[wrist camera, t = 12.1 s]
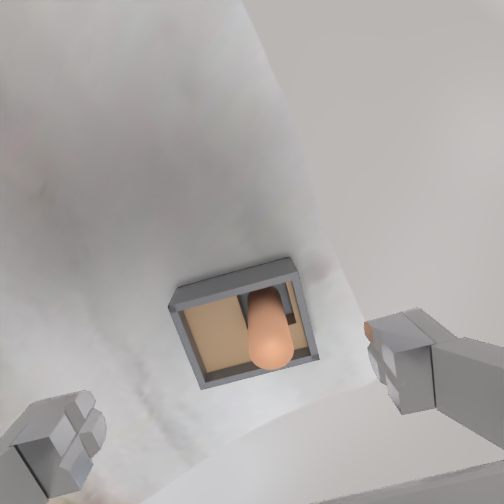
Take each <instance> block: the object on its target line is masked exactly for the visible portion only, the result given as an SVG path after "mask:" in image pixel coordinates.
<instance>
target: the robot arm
mask: <svg viewBox="0 0 504 504" xmlns="http://www.w3.org/2000/svg"><path fill="white" fill-rule="evenodd" d="M364 330H365V335H366V337H367V338H368V340H369V341H370V344H369V346H368V348H367V349H368V354H369V359H370V362H371V365H372V368H373V370H374V372H375V374H376V376H377V378H378V379H379V381H380V382H381V383H383V384H385V385H387V388H388V395H389V396H390V398H391V399H392V401H393V402H394V404H395V405H396V407H397V408H398V410H399V411H400V413H401V415H405V414H410V413H414V412H419V411H424V410H429V409H434V408H437V410H438V411H440V412H441V413H443V414H445V415H446V416H448V417H450V418H451V419H453V420H455V421H456V422H458V423H460V424H462V425H463V426H465V427H467V428H468V429H470V430H472V431H473V432H475V433H477V434H479V435H480V436H482V437H484V438H485V439H487V440H488V441H490V442H492V443H493V444H495V445H497V446H498V447H500V448H502V449H504V347H500V346H496V345H493V344H489V343H485V342H481V341H478V340H474V339H470V338H466V337H464V338H458V337H456V336H455V335H454V334H453V333H451V332H450V331H449V330H447V329H446V328H445V327H444V326H442V325H441V324H440V323H439V322H437V321H436V320H435V319H433V318H432V317H431V316H430V315H428V314H427V313H426V312H424V311H423V310H422V309H420V308H413V309H410V310H406V311H403V312H400V313H397V314H393V315H389V316H386V317H382V318H378V319H374V320H370V321H366V322H364ZM95 401H96V400H95V399H94V397H93V395H92V393H91V392H90V391H86V390H83V391H79V392H74V393H70V394H65V395H61V396H56V397H53V398H47V399H43V400H39V401H36V402H34V403H32V404H30V405H29V406H28V408H27V409H26V410H25V411H24V412H23V413H22V414H21V415H20V417H19V418H18V419H17V420H16V421H15V422H14V423H13V425H12V426H11V427H10V428H9V429H8V430H7V431H6V433H5V434H4V435H3V436H2V437H1V438H0V504H46V503H47V502H48V499H50V498H54V497H58V496H61V495H65V494H69V493H73V492H76V491H80V490H81V488H82V486H83V484H84V482H85V480H86V478H87V476H88V474H89V472H90V470H91V468H92V466H93V463H92V457H93V456H94V455H95V454H96V453H97V452H98V451H99V450H100V449H101V447H102V445H103V443H104V441H105V436H106V429H107V427H106V422H105V418H104V416H103V414H102V413H101V412H100V411H98V410H96V409H95V408H94V405H95ZM311 504H504V460H501V461H497V462H492V463H488V464H483V465H479V466H474V467H470V468H466V469H461V470H457V471H452V472H448V473H444V474H439V475H435V476H430V477H426V478H422V479H417V480H413V481H409V482H404V483H400V484H395V485H391V486H386V487H382V488H377V489H373V490H369V491H364V492H360V493H356V494H351V495H347V496H342V497H338V498H334V499H329V500H324V501H320V502H316V503H311Z"/></svg>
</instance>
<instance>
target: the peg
mask: <svg viewBox="0 0 504 504" xmlns="http://www.w3.org/2000/svg"><path fill="white" fill-rule="evenodd" d="M247 302H248V344H249V356H250V359H251V361H252V362H253V363H254V364H255V365H256V366H258V367H260V368H262V369H266V370H275V369H279V368H282V367H283V366H285V365H286V364H288V363H289V361H290V360H291V359H292V357H293V354H294V346H293V342H292V338H291V334H290V331H289V327H288V323H287V319H286V315H285V312H284V308H283V304H282V300H281V297H280V293H279V292H278V290H277V289H276V288H275V287H273V286H270V287H266V288H262V289H259V290H255V291H251V292H250V293H249V295H248V299H247Z"/></svg>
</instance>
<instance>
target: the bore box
mask: <svg viewBox="0 0 504 504" xmlns="http://www.w3.org/2000/svg"><path fill="white" fill-rule="evenodd" d="M270 286H273V287H275V288H276V289H277V290H278V292H279V293H280V297H281V300H282V304H283V308H284V312H285V315H286V319H287V323H288V327H289V331H290V334H291V338H292V342H293V346H294V354H293V357H292V359H291V360H290V361H289V363H288V364H286V365H285V366H283V367H282V368H279V369H275V370H266V369H262V368H260V367H258V366H256V365H255V364H254V363H253V362H252V361H251V359H250V356H249V344H248V302H247V299H248V295H249V293H250V292H251V291H255V290H259V289H262V288H266V287H270ZM168 309H169V312H170V314H171V317H172V319H173V322H174V324H175V327H176V329H177V332H178V334H179V337H180V339H181V342H182V344H183V346H184V349H185V351H186V354H187V356H188V359H189V361H190V364H191V366H192V369H193V371H194V374H195V376H196V379H197V381H198V384H199V386H200V389H201V390H204V389H207V388H211V387H215V386H219V385H223V384H227V383H231V382H235V381H238V380H242V379H246V378H250V377H254V376H258V375H262V374H266V373H269V372H273V371H277V370H281V369H285V368H289V367H293V366H297V365H301V364H304V363H308V362H312V361H316V360H320V359H319V355H318V351H317V347H316V343H315V339H314V335H313V331H312V327H311V323H310V319H309V315H308V311H307V307H306V303H305V299H304V295H303V291H302V287H301V282H300V278H299V274H298V271H297V269H296V267H295V265H294V263H293V261H292V260H291V258H290V257H287V258H284V259H280V260H277V261H273V262H269V263H266V264H262V265H258V266H255V267H251V268H247V269H244V270H240V271H236V272H233V273H229V274H226V275H222V276H218V277H215V278H211V279H207V280H204V281H200V282H196V283H193V284H189V285H186V286H182V287H178V288H177V290H176V292H175V293H174V295H173V297H172V299H171V301H170V303H169V305H168Z"/></svg>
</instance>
